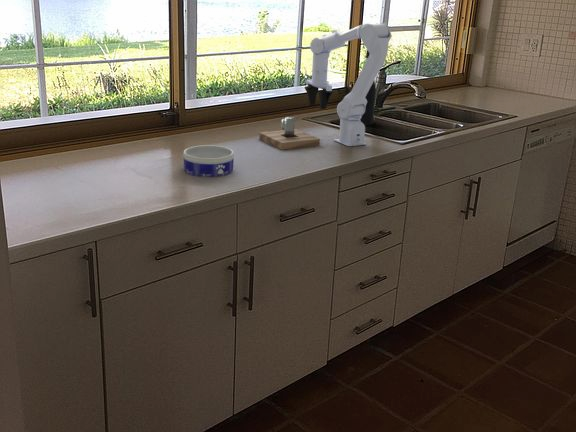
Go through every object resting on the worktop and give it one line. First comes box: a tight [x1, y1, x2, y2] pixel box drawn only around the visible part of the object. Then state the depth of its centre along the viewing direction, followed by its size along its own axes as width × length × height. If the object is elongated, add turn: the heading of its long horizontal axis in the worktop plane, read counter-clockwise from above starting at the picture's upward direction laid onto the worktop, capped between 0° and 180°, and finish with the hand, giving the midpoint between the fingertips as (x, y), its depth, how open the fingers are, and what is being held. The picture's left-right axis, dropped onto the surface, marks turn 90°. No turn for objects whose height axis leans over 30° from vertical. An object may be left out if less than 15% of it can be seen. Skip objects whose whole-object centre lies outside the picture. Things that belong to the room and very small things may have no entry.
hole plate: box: [258, 128, 321, 151], centre depth 232 cm, size 16×16×2 cm
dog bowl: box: [182, 144, 235, 178], centre depth 196 cm, size 15×15×6 cm
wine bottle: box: [360, 49, 377, 126], centre depth 263 cm, size 6×6×30 cm
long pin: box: [284, 116, 296, 138], centre depth 231 cm, size 4×4×9 cm
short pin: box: [280, 118, 285, 131], centre depth 247 cm, size 4×4×5 cm
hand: (317, 106), depth 244 cm, fingers open, 7 cm apart
